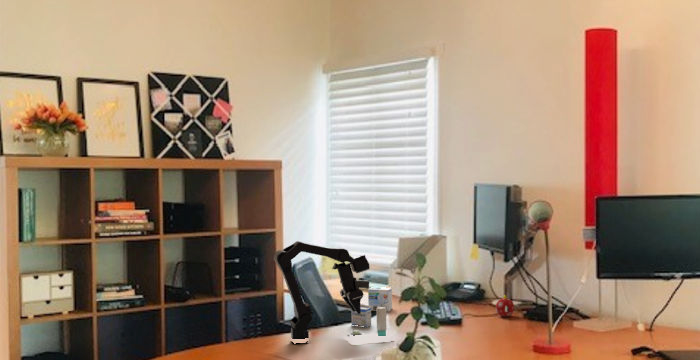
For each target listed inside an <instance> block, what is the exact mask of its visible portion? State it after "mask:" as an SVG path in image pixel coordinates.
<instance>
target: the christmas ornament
mask: <svg viewBox="0 0 700 360" xmlns="http://www.w3.org/2000/svg"><path fill="white" fill-rule="evenodd" d="M495 303H496V304H495V311H496V313H497V314H498V315H499V316H501V317H504V318H507V317H509V316H512V315H513V313H514V311H515V309H516V308H515V303H514V302H513V301H512V300H511V299H510V298H508V297H507V296H506V294H504V295H503V298H500V299H499V300H498V301H496V302H495Z"/></svg>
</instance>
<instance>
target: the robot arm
mask: <svg viewBox="0 0 700 360" xmlns="http://www.w3.org/2000/svg"><path fill="white" fill-rule="evenodd" d="M301 252H302V253H307V254H312V255H318V256H323V257H326V258H330V259H332V260H334V261H337V262H339V263H337V262H335V263H333V266H332V268H331V269H332V270H337V272H338V276H339V279H340V281H339V282H340V284H341V286H342V288H341V289H340V291H339V293H340V297H341V299H342V300H344V302H345V303H346V305H347V306H348V307H349V308H350V309H352V311H353V312H354V311H356V312H357V313H358V314H360V313H361V308H360V307H361V301H362V299H363V297H364V295H365V294H364V292H363V290H362V289H369V288H370V280H365V279H364V277H358V279H357V278H356V277H354V273H355V274H359V273H363V272H366V271H369V270H370V266H371V265H370V262H369V261H368V258H367V257H366V255H365V254H360V255H359V256H355V257H353V256H351V255H350V253H349V251H348V250H347V249H346V248H343V247H339V246H337V247H336V246H335V247H334V246H332V247H331V246H329V247H326V246H322V245H321V246H320V245H317V244H316V245H315V244H313V243H312V244H311V243H307V242H302V241H299V240H297V241H295V242H294V243H292V244H290V245H289V246H287V247H285V248H283V249H278V250H277V251H276V252H274V255H273V261H274V262H275V265H277V268H278V269H279V270H280V271H281V274H282V275H283V279H284V281H285V284H286V286H287V287H286V288H287V289H288V292H289V295H290V298H291V301H292V304H293V312H294V316H293V317H292V318H291V319H290V320H289V323H290V325H291V327H290V334H291V335H290V336H291V337H290V339H291V338H292V339H305V338H309V339H310V337H309V335H310V333H309V329H308V327H309V324H310V323H311V322H312V320H313V315H314V313H313V312H312V309H311V305H310V304H308V303H307V302H304V299H303V297H302V294H301V292H300V289H299V287H298V284H297V281H296V278H295V275H294V272H293V263H292V260H293V259H294V258H296V257H297V256H298V255H299V254H300V253H301ZM346 262H347V263H346ZM361 288H362V289H361Z"/></svg>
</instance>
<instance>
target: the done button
mask: <svg viewBox="0 0 700 360" xmlns="http://www.w3.org/2000/svg"><path fill="white" fill-rule="evenodd" d="M359 332H360V330H357V329H355V330H352V333H353V335H359Z"/></svg>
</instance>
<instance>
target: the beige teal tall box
mask: <svg viewBox="0 0 700 360" xmlns="http://www.w3.org/2000/svg"><path fill="white" fill-rule="evenodd" d="M375 312H376V330H377V331H376V332H378V336H386V331H387V311H386V308H385V307H378V308H376V311H375Z"/></svg>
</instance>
